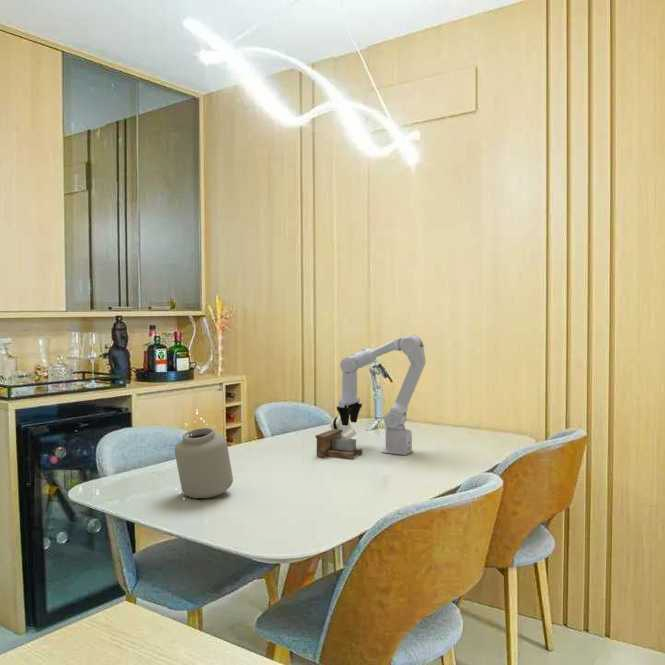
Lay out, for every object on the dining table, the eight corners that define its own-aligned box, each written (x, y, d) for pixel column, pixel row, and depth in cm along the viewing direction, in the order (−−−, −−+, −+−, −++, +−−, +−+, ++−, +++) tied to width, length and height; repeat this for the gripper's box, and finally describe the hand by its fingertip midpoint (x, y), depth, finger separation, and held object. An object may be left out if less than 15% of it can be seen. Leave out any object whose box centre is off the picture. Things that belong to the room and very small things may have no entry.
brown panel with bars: (365, 453, 245) (365, 432, 244) (348, 461, 232) (348, 439, 231) (333, 449, 251) (333, 428, 250) (315, 457, 238) (315, 435, 237)
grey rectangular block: (356, 455, 241) (356, 439, 240) (351, 458, 237) (351, 441, 237) (336, 453, 244) (336, 437, 244) (331, 455, 241) (331, 439, 241)
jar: (192, 508, 177) (192, 415, 176) (158, 498, 186) (157, 410, 185) (243, 492, 192) (243, 407, 191) (209, 484, 201) (209, 402, 200)
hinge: (346, 441, 266) (338, 417, 267) (336, 444, 267) (328, 421, 268) (356, 433, 282) (348, 411, 283) (346, 436, 284) (338, 414, 284)
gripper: (348, 385, 260) (348, 420, 261) (331, 389, 247) (331, 425, 248) (364, 386, 257) (364, 421, 258) (348, 390, 244) (348, 427, 245)
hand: (349, 423), depth 253 cm, fingers open, 7 cm apart
